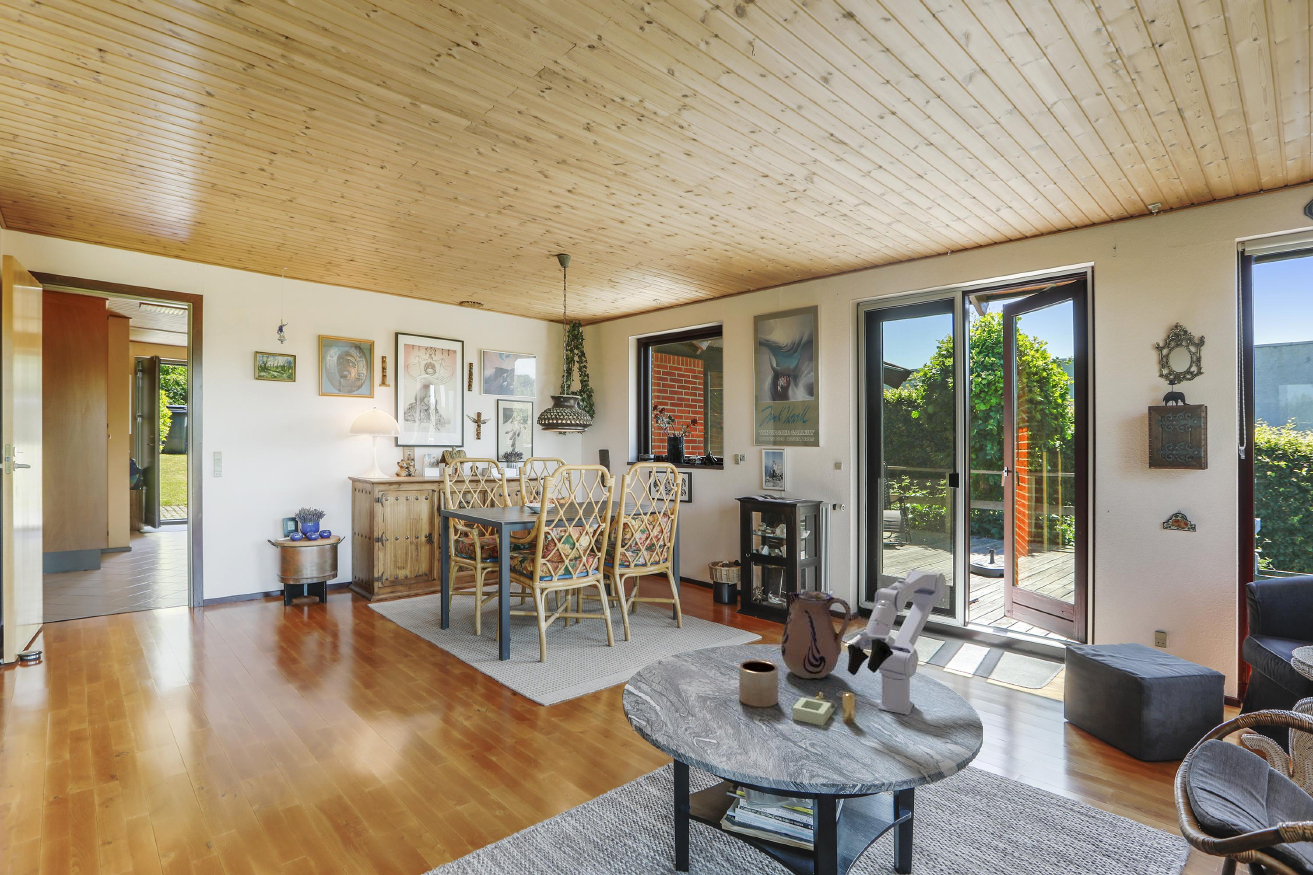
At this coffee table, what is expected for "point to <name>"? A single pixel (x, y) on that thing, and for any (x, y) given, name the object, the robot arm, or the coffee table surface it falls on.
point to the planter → (758, 683)
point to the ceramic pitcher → (812, 634)
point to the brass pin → (848, 708)
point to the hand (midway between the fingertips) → (860, 671)
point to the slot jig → (814, 709)
